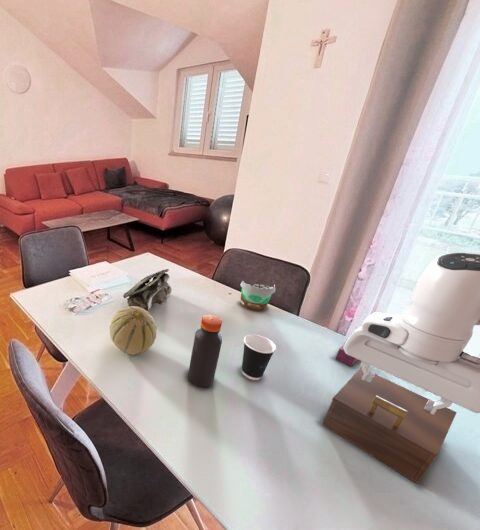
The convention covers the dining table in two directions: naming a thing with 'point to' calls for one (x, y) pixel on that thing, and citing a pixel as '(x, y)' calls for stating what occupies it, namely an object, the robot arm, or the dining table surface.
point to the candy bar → (345, 357)
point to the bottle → (205, 351)
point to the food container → (255, 296)
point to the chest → (378, 442)
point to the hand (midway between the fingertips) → (395, 394)
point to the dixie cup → (256, 355)
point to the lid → (397, 411)
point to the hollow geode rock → (150, 291)
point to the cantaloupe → (133, 330)
